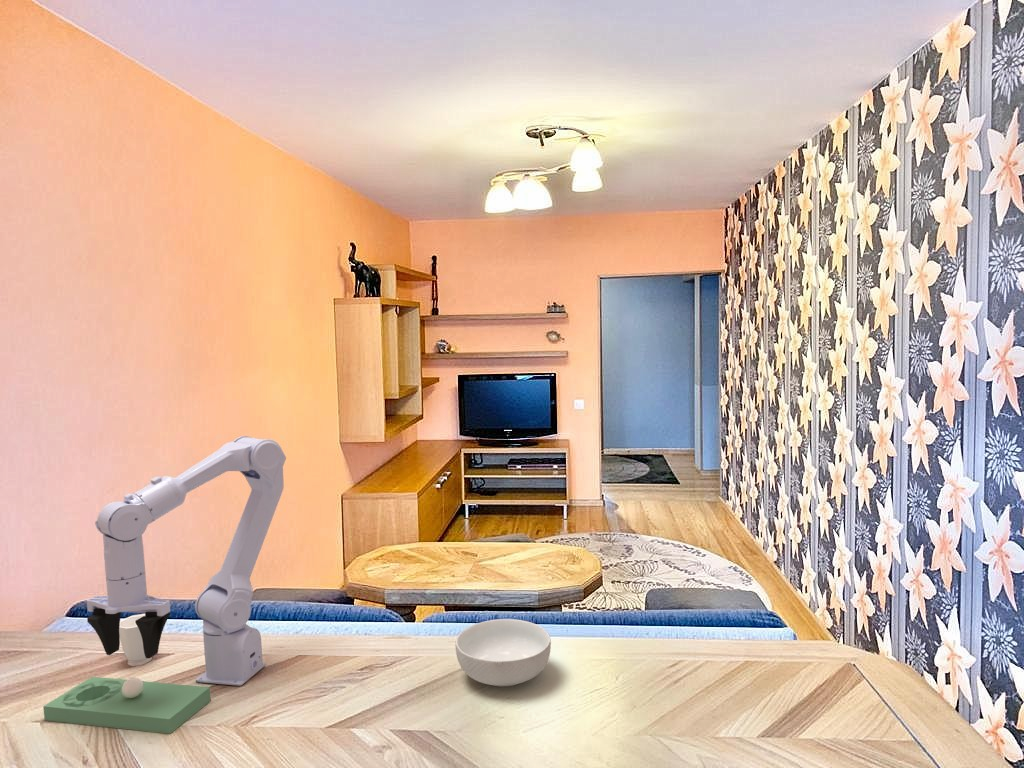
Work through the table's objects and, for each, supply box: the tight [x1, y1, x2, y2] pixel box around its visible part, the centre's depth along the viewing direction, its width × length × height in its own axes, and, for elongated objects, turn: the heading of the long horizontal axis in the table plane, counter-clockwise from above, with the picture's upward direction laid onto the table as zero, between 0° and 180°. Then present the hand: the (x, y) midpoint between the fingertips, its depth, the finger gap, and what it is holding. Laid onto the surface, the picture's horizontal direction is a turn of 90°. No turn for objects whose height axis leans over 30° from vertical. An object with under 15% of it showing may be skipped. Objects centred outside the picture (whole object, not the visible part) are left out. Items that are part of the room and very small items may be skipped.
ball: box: [122, 677, 143, 698], centre depth 117 cm, size 3×3×3 cm
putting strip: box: [43, 676, 212, 735], centre depth 118 cm, size 24×10×2 cm, turn 77°
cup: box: [119, 613, 153, 667], centre depth 137 cm, size 7×10×8 cm
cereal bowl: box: [454, 618, 552, 688], centre depth 125 cm, size 17×17×7 cm
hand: (132, 653), depth 117 cm, fingers open, 7 cm apart
